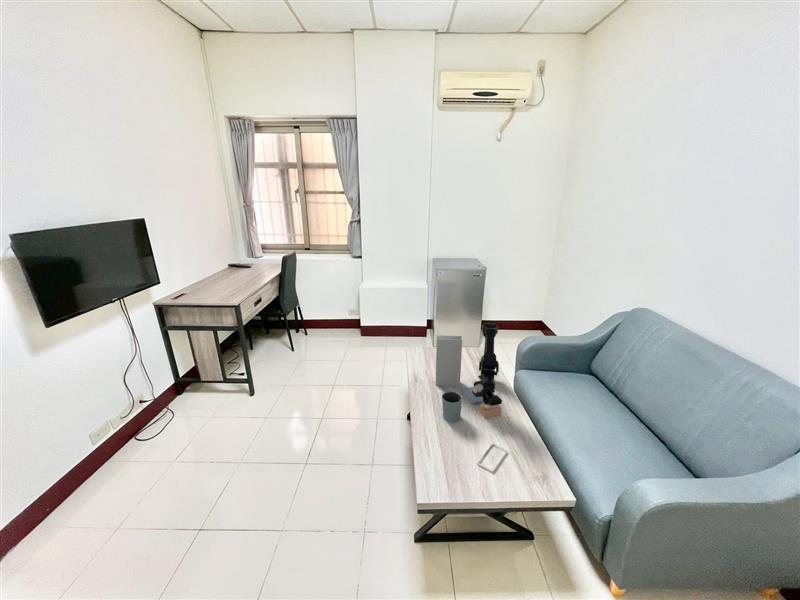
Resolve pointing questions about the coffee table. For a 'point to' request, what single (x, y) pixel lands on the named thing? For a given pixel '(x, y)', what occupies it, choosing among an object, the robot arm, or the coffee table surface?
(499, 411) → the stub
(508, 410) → the coffee table surface
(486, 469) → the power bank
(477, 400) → the blue book
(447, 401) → the blue-grey cup
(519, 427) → the coffee table surface
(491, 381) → the robot arm
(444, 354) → the tall grey box
